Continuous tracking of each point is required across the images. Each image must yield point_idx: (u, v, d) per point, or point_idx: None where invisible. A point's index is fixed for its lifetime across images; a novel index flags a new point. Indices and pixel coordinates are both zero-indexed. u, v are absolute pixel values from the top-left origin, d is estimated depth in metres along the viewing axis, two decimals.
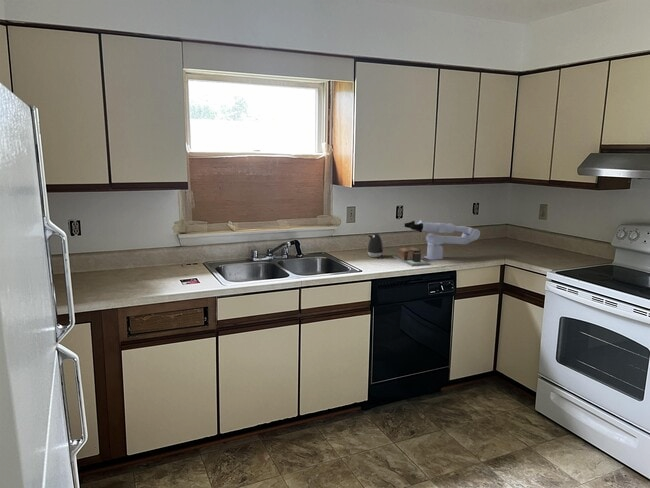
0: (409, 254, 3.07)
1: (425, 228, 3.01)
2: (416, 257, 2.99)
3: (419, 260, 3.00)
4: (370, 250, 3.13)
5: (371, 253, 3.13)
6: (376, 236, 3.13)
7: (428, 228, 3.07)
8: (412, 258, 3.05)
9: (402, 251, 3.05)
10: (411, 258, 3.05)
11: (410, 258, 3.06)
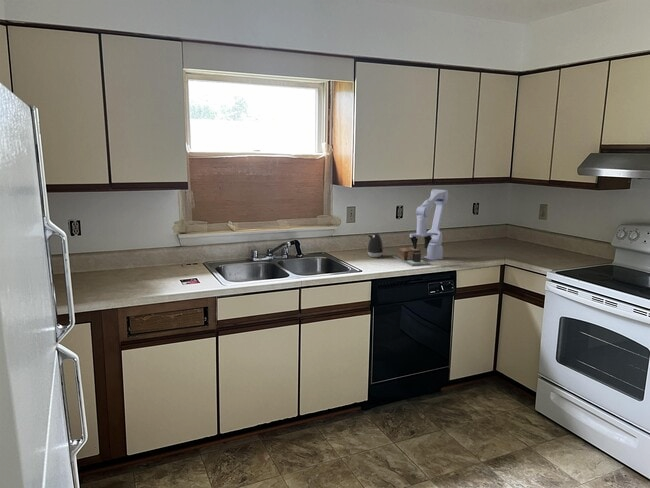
0: (409, 254, 3.07)
1: None
2: (416, 257, 2.99)
3: (419, 260, 3.00)
4: (370, 250, 3.13)
5: (371, 253, 3.13)
6: (376, 236, 3.13)
7: None
8: (412, 258, 3.05)
9: (402, 251, 3.05)
10: (411, 258, 3.05)
11: (410, 258, 3.06)
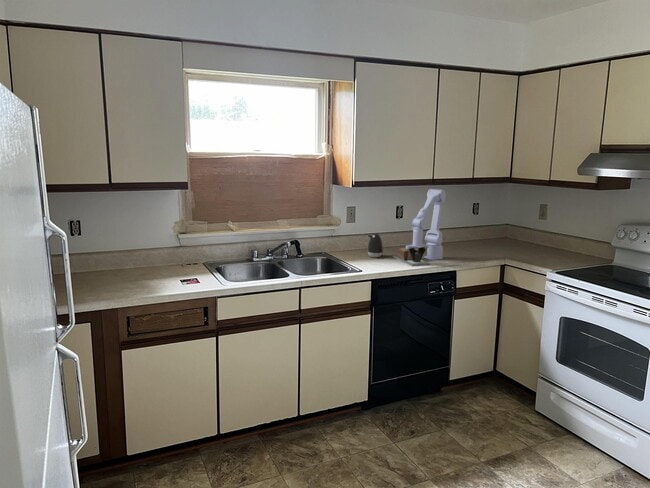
0: (409, 254, 3.07)
1: None
2: (416, 257, 2.99)
3: (419, 260, 3.00)
4: (370, 250, 3.13)
5: (371, 253, 3.13)
6: (376, 236, 3.13)
7: None
8: None
9: (402, 251, 3.05)
10: (411, 258, 3.05)
11: (410, 258, 3.06)
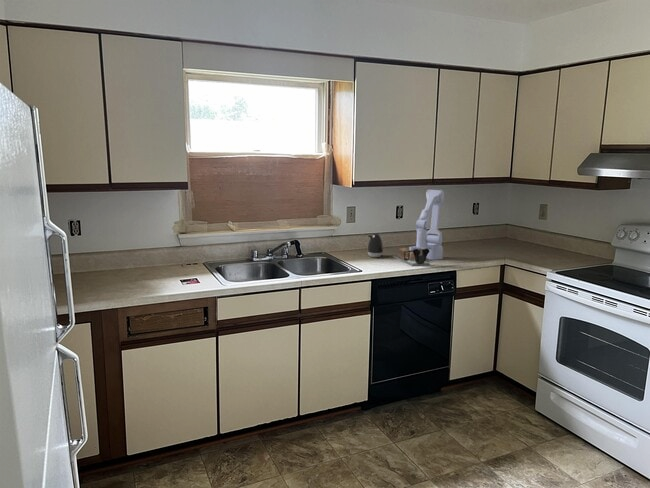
0: (412, 255, 3.03)
1: None
2: (420, 259, 2.95)
3: (423, 262, 2.96)
4: (370, 250, 3.13)
5: (371, 253, 3.13)
6: (376, 236, 3.13)
7: None
8: None
9: (402, 251, 3.05)
10: (414, 260, 3.01)
11: (413, 260, 3.02)
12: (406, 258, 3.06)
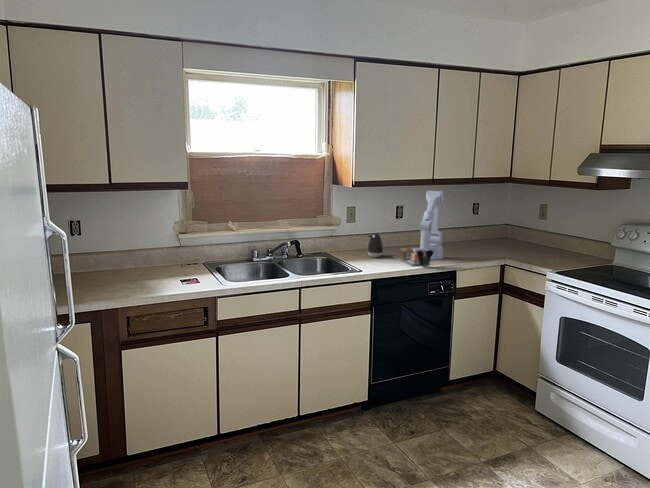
0: (416, 257, 2.99)
1: None
2: (423, 260, 2.91)
3: (426, 263, 2.92)
4: (370, 250, 3.13)
5: (371, 253, 3.13)
6: (376, 236, 3.13)
7: None
8: None
9: (402, 251, 3.05)
10: (418, 261, 2.97)
11: (417, 261, 2.98)
12: (410, 260, 3.02)
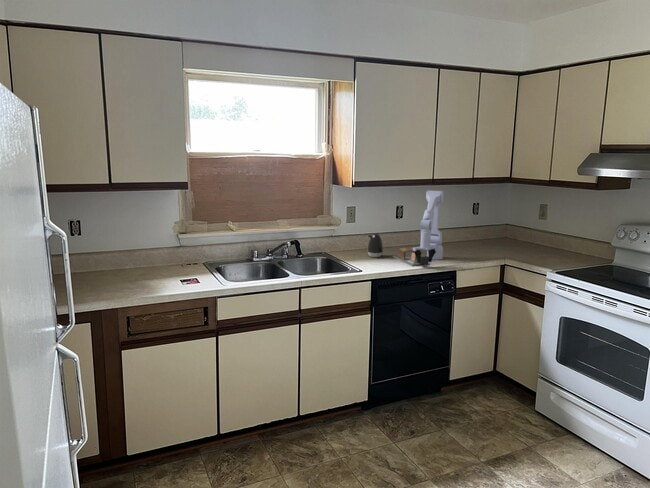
0: None
1: None
2: (423, 260, 2.91)
3: (426, 263, 2.92)
4: (370, 250, 3.13)
5: (371, 253, 3.13)
6: (376, 236, 3.13)
7: None
8: None
9: (402, 251, 3.05)
10: None
11: None
12: (410, 260, 3.02)
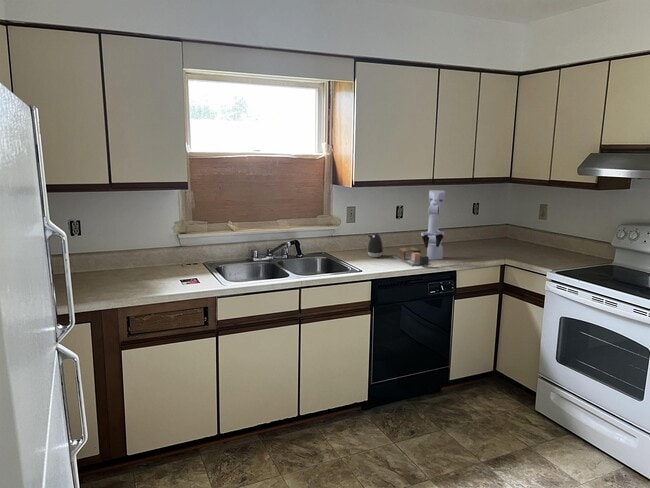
0: (416, 257, 2.99)
1: None
2: (423, 260, 2.91)
3: (426, 263, 2.92)
4: (370, 250, 3.13)
5: (371, 253, 3.13)
6: (376, 236, 3.13)
7: None
8: (419, 261, 2.97)
9: (402, 251, 3.05)
10: (418, 261, 2.97)
11: (417, 261, 2.98)
12: (410, 260, 3.02)
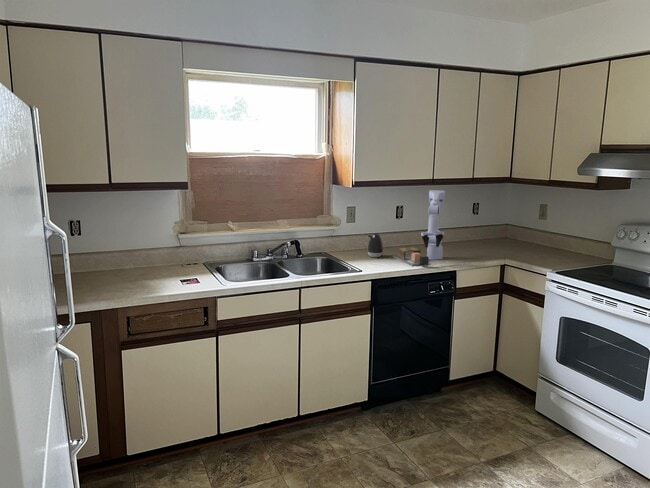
0: (416, 257, 2.99)
1: None
2: (423, 260, 2.91)
3: (426, 263, 2.92)
4: (370, 250, 3.13)
5: (371, 253, 3.13)
6: (376, 236, 3.13)
7: None
8: (419, 261, 2.97)
9: (402, 251, 3.05)
10: (418, 261, 2.97)
11: (417, 261, 2.98)
12: (410, 260, 3.02)
